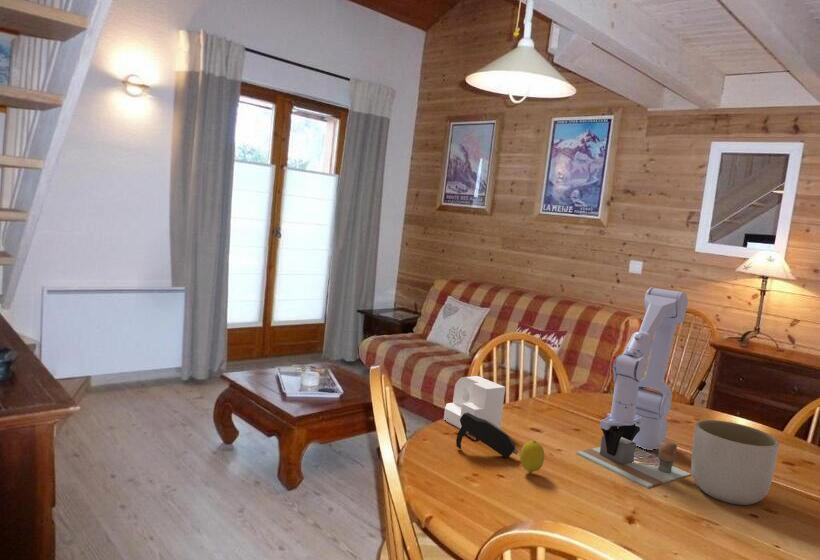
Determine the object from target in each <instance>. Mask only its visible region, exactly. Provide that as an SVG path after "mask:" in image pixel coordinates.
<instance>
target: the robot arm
mask: <svg viewBox="0 0 820 560" xmlns="http://www.w3.org/2000/svg"><path fill="white" fill-rule="evenodd" d="M688 302H689V301H688V294H687V293H686V292H685V291H677V290H671V289H670V290H669V289H664V288H663V289H662V288H656V287H654V286H651V287H649V288H648V289H647V291H646V292H645V294H644V309H645V314H644V316H643V319H642V322H641V325H640V327H639V330H638V331H636V332H633V333H632V335H631V337H630V338H629V340H628V343H627V345H626V346H625V348H624V350H623V353H622V354H619V355H617V356H616V358H615V359H614V362H613V365H612V372H613V383H614V387H613V394H612V395H613V396H612V403H611V408H610V409H611V410H610V413H609V412H608V413H607V414H606V418H604V419H601V420H600V424H599V428H600V429H601V431H602V433H603V435H604V437H605V441H606V448H607V453H608V454H610V455H612V456H615V454H616V452H617V448H618V444H619V441H620V439H621V437H623V438H625V439H628V440H630V441H632V442H635V443H636V447H637V446H639V447H642V448H645V449H656V450H659V448H660V441H666V438H667V431H668V420H667V416H668V415H669V414H670V412H671V411H670V410H671V408H672V395H673V391H672V389H671V388H670V387H669V386H668V385H667V384H666V382H665V375H666V371H667V367H668V363H669V357H670V355H671V354H670V352H671V350H672V349H671V348H672V344H673V341H674V336H675V332H676V328H677V325H678V324H682V323H684V319H685V318H686V313H687V308H688V304H689V303H688ZM648 358H649V359H648ZM647 359H648V361H647ZM644 376H645V377H644ZM652 390H654V391H652ZM657 391H658V392H657ZM639 447H638V448H639Z"/></svg>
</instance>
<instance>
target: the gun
mask: <svg viewBox="0 0 820 560" xmlns="http://www.w3.org/2000/svg"><path fill="white" fill-rule="evenodd" d="M460 423H461V426H462V427H461V429H460V428H459V430H458V432H457V434H456V440H455V445H456V447H457V448H458V449H459V450H462V440H463V438H464V437H465V438H466V439H468V440H470V441H471V442H474V443H477V442H479V441H480V442H482V443H483V444H484V445H486V446H488V447H489V448H490V449H492V450H494V451H495V452H496V453H498V454H499V455H501V456H502V457H504V458H510V456H511V455H512V454H515V455H517V454H518V453H519V450H518V449H517V448H516V445H515V442H514V440H512V438H511V437H510V436H509V434H507V432H506V431H504V430H503V429H501V427H500V428H498V427H497V426H495V425H494V424H492V423H491V422H488V421H486V420H484V419H481V418H477V417H476V416H474V415H472V414H470V413H464V414H463V415H462V417H461V418H460ZM467 432H468V434H467ZM471 436H472V437H473V438H472V437H471ZM474 437H475V439H474Z"/></svg>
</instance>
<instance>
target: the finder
mask: <svg viewBox="0 0 820 560" xmlns="http://www.w3.org/2000/svg"><path fill="white" fill-rule="evenodd" d="M600 447H601V448H600V454H601V455H603V456H605V457H607V458H609V459H612V460H614V461H616V462H618V463H620V464H622V465H623V464H627V463H632V462H634V455H635V450H636V448H637V446H636V443H635V442H632V441H630V440H628V439H625V438H623V437H621V439H620V441H619V444H618V448H617V452H616V454H615V456H612V455H610V454H608V453H607V448H606V441H605V437H604V434H603V435H601V442H600Z"/></svg>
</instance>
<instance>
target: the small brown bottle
mask: <svg viewBox="0 0 820 560" xmlns="http://www.w3.org/2000/svg"><path fill="white" fill-rule="evenodd" d="M677 448H678V445H677V444H676V443H675V442H673V441H669V440H665V441H660V448H659V449H658V456H657V458H658V460H659V467H658V470H659V471H661V472H664V473H671V470H672V466H673V463H674V462H675V461H676V454H677Z"/></svg>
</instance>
